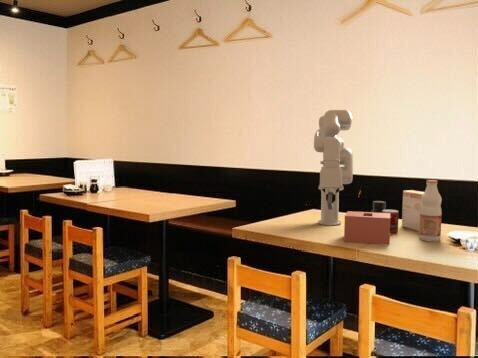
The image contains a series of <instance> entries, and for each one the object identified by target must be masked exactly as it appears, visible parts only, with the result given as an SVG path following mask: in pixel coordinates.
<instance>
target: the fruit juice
mask: <svg viewBox="0 0 478 358" xmlns="http://www.w3.org/2000/svg"><path fill="white" fill-rule="evenodd" d="M425 182H426V183H425V184H426V187H425V190H424V191H423V192H424V193H423V195H422V196H421V203H422V206H421V208H420V227H419V231H418V232H419V233H418V237H419V239H420V240H421V241H426V242H439V241H440V240H441V235H442V233H441V232H442V215H443V214H442V211H443V210H442V207H441V205H442V201H443V199H442V196H441V194H440V192H439V189H438V186H437V185H438V180H435V179H426V181H425Z"/></svg>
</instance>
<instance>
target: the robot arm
mask: <svg viewBox="0 0 478 358" xmlns="http://www.w3.org/2000/svg"><path fill="white" fill-rule="evenodd" d="M352 120H353V116H352V113H351V111H349V109H330V110H327V111H326V112H325V113H324V115H322V116H320V117H319V119H318V129H317V130H316V132H315V133H314V138H313V150H314V151H315V152H316V153H322V159H323V160H321V161H320V165H322V166H321V169H320V171H319V184H318V190H320V192H321V194H320V197H321V198H320V203H321V204H320V219H319V220H318V221H317V223H318V224H319V225H324V226H338V225H341V224H342V221H341V220H339V208H340V207H339V205H340V204H339V202H340V199H339V198H340V197H339V196H340V193H339V192H340V191H343V190H344V185H349V184H351V183H352V182H353V177H354V176H353V175H354V174H353V173H354V172H353V170H354V168H353V167H354V166H353V165H354V164H353V163H354V161H353V157H354V156H353V151H352V149H351V148H349V147H345V144H344V142H345V141H344V140H343V139H342V138H341V137H338V135H339V133H340V132H341V131H345V132H346V131H349V130H351V127H352V122H353V121H352ZM341 165H342V166H341ZM328 192H333V195H332V203H333V210H329V209H328V205H327V200H328Z"/></svg>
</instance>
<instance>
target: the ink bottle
mask: <svg viewBox="0 0 478 358" xmlns="http://www.w3.org/2000/svg"><path fill="white" fill-rule="evenodd" d="M386 202H387V201H383V200H374V201H373V200H372V208H373V209H372V210H371V211H370V212H373V213H383V210H386V208H387V206H386V205H387V203H386Z"/></svg>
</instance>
